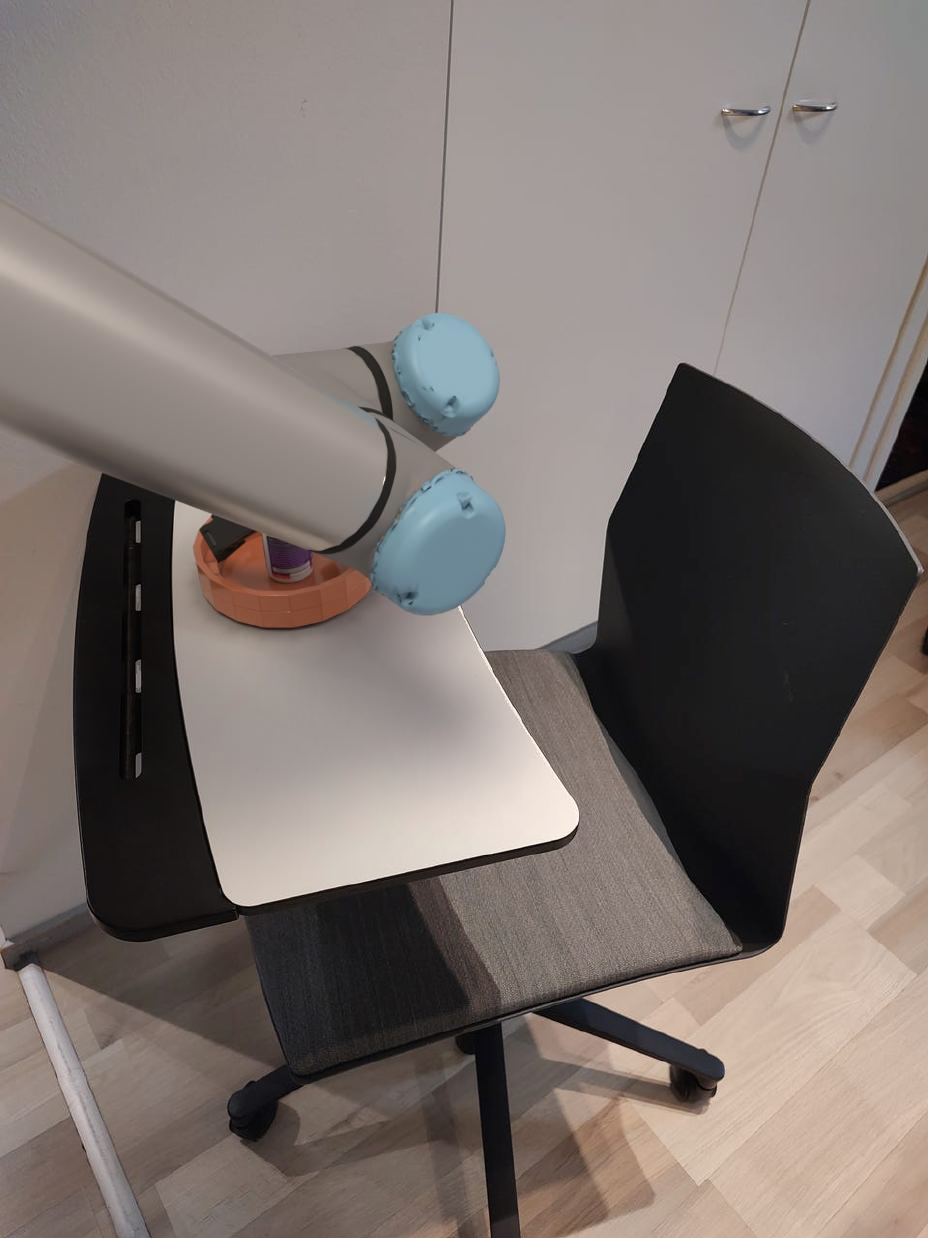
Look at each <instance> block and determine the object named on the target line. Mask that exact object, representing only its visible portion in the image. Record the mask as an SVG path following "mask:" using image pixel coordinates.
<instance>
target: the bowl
mask: <svg viewBox="0 0 928 1238" xmlns="http://www.w3.org/2000/svg"><path fill="white" fill-rule="evenodd" d="M212 520H213V519H212V517H211V516H210V517H208V518H207V520H206V521H205V522H204V524H203V525H205V524H207V523H209V522H210V521H212ZM245 541H246V542H245V543H244V544H243V545H242V546H241V547H240V548H238V549H237V550H236V551H235V552H234V553H233V554H231V555H230V556H229V557H228V558H227V559H225V560H224V561H222V562H220V563H218V562H217V560H216V558H215V557H214V555H213V553H212V551H211V550H210V548H209V546H208V545H207V543H206V541H205V539H204V538H203V536H202V534H201V532H200V531H199V529H198V530H197V533H196V537H195V539H194V542H193V545H192V550H193V554H194V559H195V565H196V568H197V574H198V577H199V581H200V586H201V591H202V594H203V597H205V599H206V600H207V601H208V602H209V604H211V606H212V607H213V608H214V609H215V610H216V611H217V612H219V613H221V614H223V615H225V616H227V617H228V618H230V619H232V620H234V621H235V622H238V623H243V624H248V625H252V626H255V627H256V626H257V627H261V628H297V627H303V626H306V625H312V624H316V623H322V622H324V621H326V620H329V619H331V618H333V617H336V616H338V615H339V614H342V613H344V612H347V611H348V610H349V609H351V608H352V607H354V606H355V605H356V604H357V603H358V602H359V601H361V600H362V599H363V598H365V597H366V596H367V594H368V593H369V591H370V589H371V588H372V587H373V585H372V583H371V581H370V580H369V579H368V578H367V577H366V576H364V575H363V574H361V573H360V572H358V571H357V570H355V569H353V568H351V567H349V566H346V565H343V564H341V563H338V562H336V561H333V560H330V559H328V558H326V557H323V556H321V555H318V554H316V553H313V552H312V556H313V570H312V572H311V574H310V575H309V576H308V577H306V578H305V579H303V580H301V581H298V582H294V583H282V582H278V581H276V580H274V579H272V578H271V577H270V576H269V574H268V572H267V568H266V563H265V556H264V550H263V544H262V538H261V532H257V533H255V534H253V535H252V536H250V537H248V538H247V539H245Z"/></svg>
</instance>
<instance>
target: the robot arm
mask: <svg viewBox="0 0 928 1238" xmlns="http://www.w3.org/2000/svg"><path fill="white" fill-rule="evenodd" d="M500 382H501V377H500V369H499V365H498V363H497V359H496V357H495V354H494V350H493V349H492V347H491V345H490V344H489V342H488V340H487V338H486V337H485V336H484V335H483V334H482V333H481V332H480V331H479V330H478V329H477V328H476V327H475V326H474V325H472V324H471V323H470V322H468V321H467V320H465V319H464V318H461V317H459V316H457V315H454V314H450V313H447V312H432V313H429V314H426V315H423V316H421V317H418V319H416V320H415V321H414V322H412V323H410V324H409V325H406V327H405V328H404V327H403V328H402V329H401V330H400V331H399V332H398V333H397V335H396V337H395V338H394V339H392V340H390V341H385V342H384V341H383V342H377V343H369V344H367V343H366V344H359V345H352V346H349V347H344V348H336V349H325V350H315V351H306V352H296V353H295V352H294V353H286V354H284V353H283V354H277V355H276V354H275V355H271V354H269V353H268V352H266V351H265V350H263V349H262V348H259V347H258V346H257V345H255V344H253V343H251V342H250V341H247V340H246V339H245V338H243V337H242V336H240V335H238V334H236V333H235V332H233V331H231V330H229V329H228V328H227V327H224V326H222V325H221V324H219V323H218V322H216V321H214V320H213V319H211V318H209V317H207V315H204V314H203V313H201V312H199V311H198V310H196V309H194V308H192V307H191V306H189V305H188V304H186V303H184V302H182V301H181V300H179V299H177V298H176V297H174V296H172V295H171V294H169V293H167V292H166V291H164V290H162V289H160V288H159V287H157V286H155V285H154V284H152V283H150V282H149V281H147V280H146V279H144V278H142V277H141V276H139V275H137V274H135V273H134V272H132V271H130V270H128V269H127V268H126V267H124V266H122V265H121V264H119V263H117V262H116V261H113V260H112V259H111V258H108V257H107V256H105V255H103V254H102V253H100V252H99V251H96V250H95V249H93V248H91V247H90V246H88V245H87V244H85V243H83V242H81V241H80V240H78V239H77V238H75V237H73V236H72V235H70V234H68V233H67V232H65V231H63V230H62V229H60V228H58V227H56V226H55V225H54V224H51V223H50V222H48V221H46V220H45V219H43V218H41V217H40V216H38V215H36V214H35V213H33V212H31V211H30V210H28V209H26V208H24V207H23V206H21V205H20V204H18V203H16V202H15V201H13V200H11V199H10V198H7V197H6V196H4V195H3V194H2V193H0V436H3V437H6V438H9V439H11V440H14V441H17V442H19V443H22V444H25V445H28V446H30V447H33V448H35V449H39V450H41V451H43V452H46V453H49V454H52V455H54V456H57V457H60V458H62V459H64V460H67V461H70V462H72V463H74V464H78V465H81V466H83V467H86V468H89V469H90V470H91V469H92V470H94V471H97V472H99V473H102V474H105V475H107V476H109V477H112V478H115V479H118V480H120V481H123V482H126V483H129V484H131V485H134V486H137V487H139V488H142V489H144V490H146V491H147V490H148V491H149V492H153V493H155V494H157V495H160V496H163V497H165V498H168V499H171V500H174V501H176V502H179V503H180V504H184V505H187V506H190V507H192V508H195V509H197V510H200V511H202V512H205V513H208V514H211V515H210V517H212V519H213V520H212V521H210V522H209V523H207V524H205V525H204V524H202V526H201V527H200V528H199V529H198V530H199V531H200V532H201V534H202V536H203V538H204V539H205V541H206V543H207V545H208V546H209V548H210V550H211V551H212V553H213V555H214V557H215V558H216V560H217V562H218V563H220V562H222V561H224V560H225V559H227V558H228V557H229V556H230V555H231V554H233V553H234V552H235V551H236V550H237V549H238V548H240V547H241V546H242V545H243V544H244V543H245V542H246V541H245V539H247V538H248V537H250V536H252V535H253V534H255V533H257V532H261V533H263V534H266V535H269V536H271V537H274V538H277V539H279V540H282V541H285V542H287V543H290V544H292V545H295V546H298V547H300V548H303V549H306V550H308V551H311V552H313V553H316V554H318V555H321V556H323V557H326V558H328V559H330V560H333V561H336V562H338V563H341V564H343V565H346V566H349V567H351V568H353V569H355V570H357V571H358V572H360V573H361V574H363V575H364V576H366V577H367V578H368V579H369V580H370V581H371V583H372V587H373V589H374V590H375V591H376V593H378V594H379V595H380V596H384V597H386V598H388V599H389V600H390V601H391V602H393V604H395V605H396V606H397V607H398V608H400V609H402V610H403V611H405V612H407V613H409V614H412V615H415V616H421V617H429V616H430V617H431V616H436V615H441V614H445V613H447V612H450V611H452V610H455V609H457V608H458V607H460V606H462V605H463V604H465V603H466V602H468V601H469V600H470V599H471V598H472V597H474V596H475V595H476V594H477V593H478V592H479V591H480V590H481V589H482V588H483V586H485V583H486V580H487V579H488V577H489V576H490V575H491V573H492V571H493V570H495V568H497V566H498V563H499V561H500V559H501V557H502V554H503V550H504V547H505V542H506V532H507V531H506V530H507V529H506V521H505V517H504V514H503V512H502V509H501V506H500V505H499V503H498V502H497V501H496V500H495V498H494V497H493V496H491V494H489V492H487V491H486V490H485V489H484V488H482V487H481V486H480V485H478V484H477V483H476V481H474V477H473V476H472V475H471V474H469V473H468V472H466V471H463V470H462V469H460V468H459V467H456V466H454V465H453V464H452V463H450V462H449V461H448V460H446V459H445V458H444V457H443V456H441V455H440V454H438V453H437V451H439V450H440V449H442V448H444V447H445V446H446V445H448V444H449V443H451V442H452V441H454V440H455V439H457V438H458V437H463V436H465V435H467V433H468V432H469V431H470V430H471V429H472V427H473V426H474V425H476V423H477V422H479V421H481V419H482V418H483V417H484V416H486V414H488V413H489V412H490V410H491V409H492V407H493V406H494V404H495V403H496V400H497V397H498V394H499V391H500Z"/></svg>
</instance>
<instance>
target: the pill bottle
mask: <svg viewBox="0 0 928 1238" xmlns="http://www.w3.org/2000/svg"><path fill="white" fill-rule="evenodd" d="M261 538H262V544H263V550H264V556H265V563H266V568H267V572H268V574H269V576H270V577H271V578H272V579H274V580H276V581H278V582H282V583H294V582H298V581H301V580H303V579H305V578H306V577H308V576H309V575H310V574H311V572H312V570H313V556H312V552H311V551H308V550H306V549H303V548H300V547H298V546H295V545H292V544H290V543H287V542H285V541H282V540H279V539H277V538H274V537H271V536H269V535H266V534H263V533H261Z"/></svg>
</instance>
